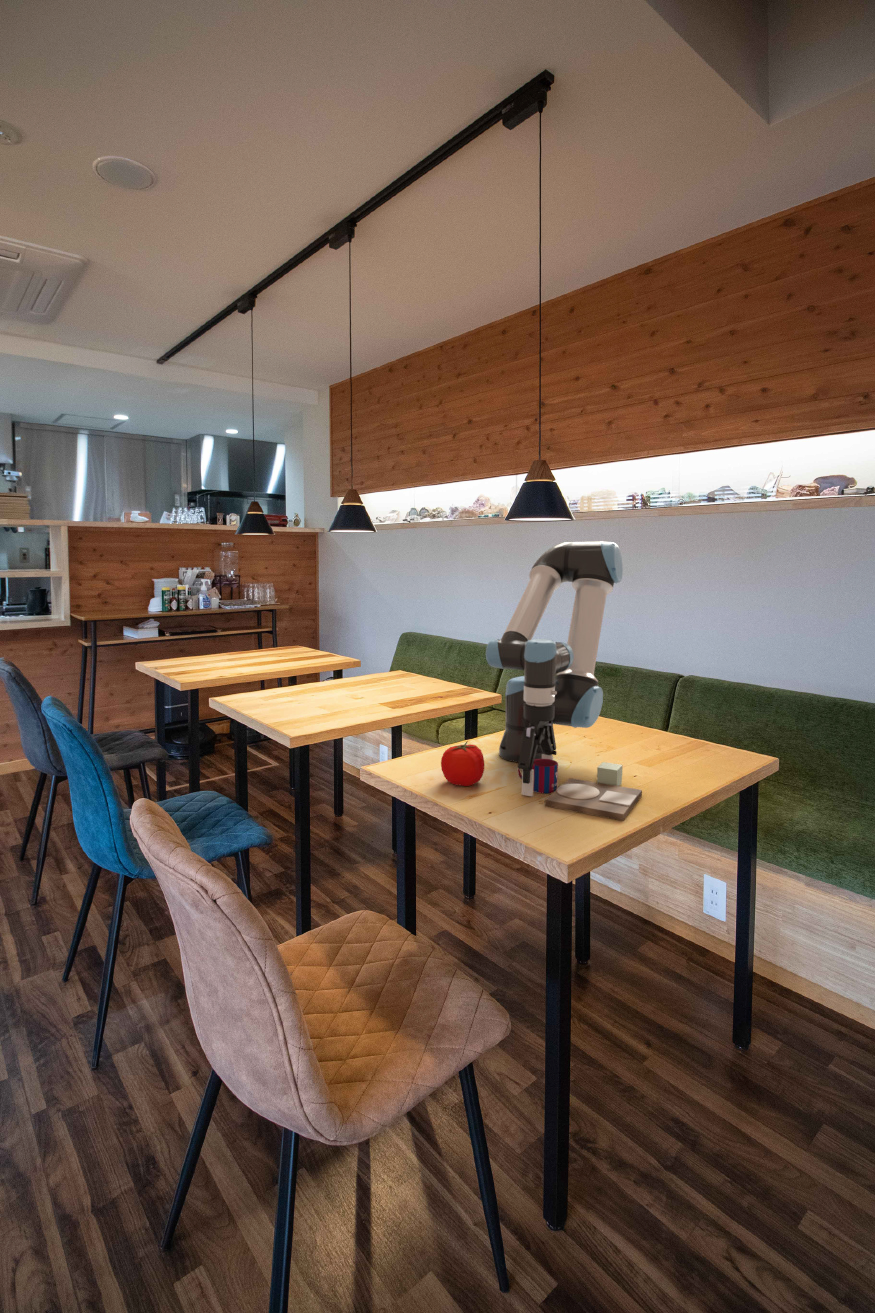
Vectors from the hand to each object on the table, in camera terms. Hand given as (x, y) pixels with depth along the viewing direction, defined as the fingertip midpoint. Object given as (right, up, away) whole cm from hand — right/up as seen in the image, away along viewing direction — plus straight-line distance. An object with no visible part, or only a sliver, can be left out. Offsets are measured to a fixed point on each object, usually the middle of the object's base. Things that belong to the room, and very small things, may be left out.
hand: (537, 787), depth 168 cm
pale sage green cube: (+19, 0, +2) cm, 19 cm away
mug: (0, 0, 0) cm, 0 cm away
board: (+12, -1, -9) cm, 15 cm away
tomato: (-19, 0, +4) cm, 19 cm away
